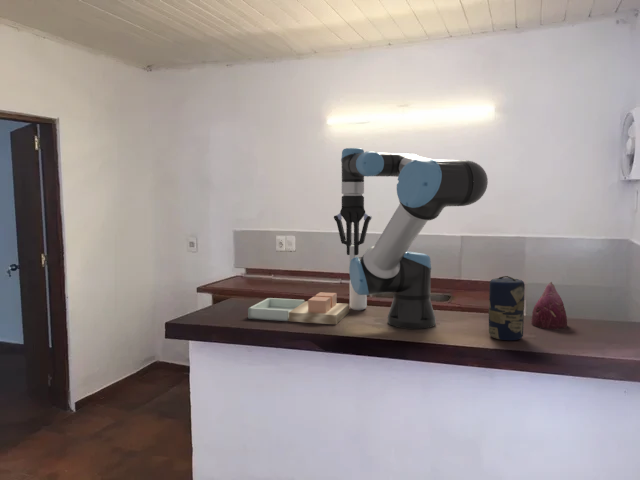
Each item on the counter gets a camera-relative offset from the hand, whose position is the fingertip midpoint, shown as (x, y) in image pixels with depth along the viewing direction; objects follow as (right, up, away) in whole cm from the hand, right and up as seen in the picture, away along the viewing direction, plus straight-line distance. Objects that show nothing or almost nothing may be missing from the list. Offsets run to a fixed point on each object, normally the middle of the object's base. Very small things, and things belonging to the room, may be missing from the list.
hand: (352, 264), depth 176 cm
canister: (+42, -20, -27) cm, 54 cm away
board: (-11, -18, +1) cm, 21 cm away
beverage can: (+3, -17, +12) cm, 21 cm away
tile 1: (-11, -15, -4) cm, 19 cm away
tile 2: (-9, -14, +4) cm, 17 cm away
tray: (-26, -17, +5) cm, 32 cm away
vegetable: (+61, -19, -12) cm, 65 cm away
